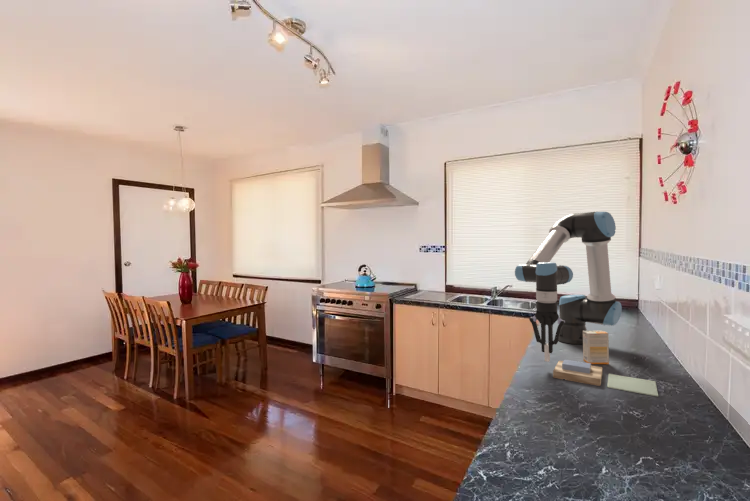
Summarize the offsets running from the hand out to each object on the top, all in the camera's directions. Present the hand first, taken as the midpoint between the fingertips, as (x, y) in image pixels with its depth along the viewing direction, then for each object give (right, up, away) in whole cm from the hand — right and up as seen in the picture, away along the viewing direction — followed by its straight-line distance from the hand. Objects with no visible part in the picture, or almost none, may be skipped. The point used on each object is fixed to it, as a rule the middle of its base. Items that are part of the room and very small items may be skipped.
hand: (547, 360), depth 142 cm
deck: (+9, -4, -6) cm, 11 cm away
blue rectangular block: (+8, -1, -6) cm, 10 cm away
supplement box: (+24, -3, +8) cm, 25 cm away
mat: (+22, -4, -16) cm, 27 cm away
